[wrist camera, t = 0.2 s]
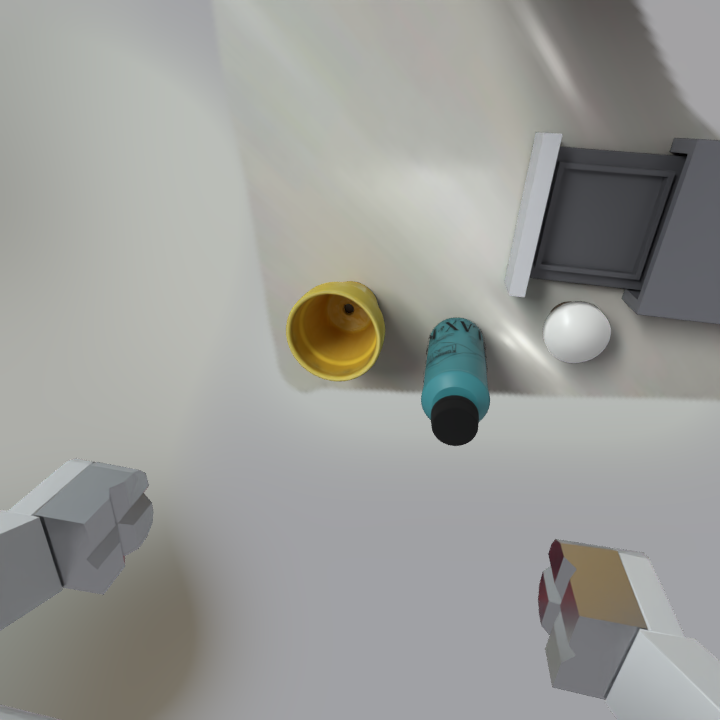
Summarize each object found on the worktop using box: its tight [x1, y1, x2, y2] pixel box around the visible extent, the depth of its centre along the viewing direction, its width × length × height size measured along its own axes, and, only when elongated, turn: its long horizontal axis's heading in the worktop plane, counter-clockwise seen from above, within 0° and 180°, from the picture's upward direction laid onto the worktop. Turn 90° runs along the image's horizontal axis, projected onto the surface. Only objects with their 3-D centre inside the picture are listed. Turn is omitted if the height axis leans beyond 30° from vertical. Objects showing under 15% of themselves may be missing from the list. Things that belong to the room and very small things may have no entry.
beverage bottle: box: [421, 318, 490, 446], centre depth 49 cm, size 6×7×20 cm
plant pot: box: [286, 281, 385, 381], centre depth 54 cm, size 10×10×10 cm
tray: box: [504, 132, 687, 297], centre depth 47 cm, size 18×15×5 cm
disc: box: [543, 301, 611, 363], centre depth 51 cm, size 6×6×2 cm
